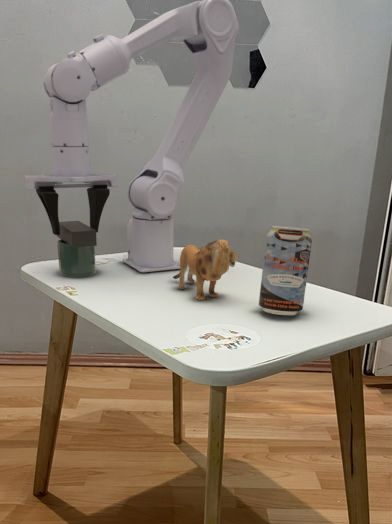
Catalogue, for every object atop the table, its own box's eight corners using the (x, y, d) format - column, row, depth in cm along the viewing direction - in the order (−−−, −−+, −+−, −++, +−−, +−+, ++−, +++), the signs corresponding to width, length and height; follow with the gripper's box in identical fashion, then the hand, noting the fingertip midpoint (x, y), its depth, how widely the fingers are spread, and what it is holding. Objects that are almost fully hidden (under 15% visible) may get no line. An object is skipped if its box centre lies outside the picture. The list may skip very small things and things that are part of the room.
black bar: (56, 236, 98) (55, 221, 97) (79, 235, 100) (78, 220, 99) (72, 247, 90) (71, 231, 89) (96, 245, 91) (96, 230, 90)
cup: (56, 270, 98) (53, 238, 96) (89, 267, 100) (88, 236, 98) (65, 278, 93) (62, 245, 91) (100, 275, 95) (98, 243, 93)
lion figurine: (241, 301, 83) (244, 240, 80) (212, 307, 80) (214, 244, 77) (186, 279, 94) (186, 224, 91) (158, 283, 91) (158, 227, 88)
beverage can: (254, 318, 76) (260, 228, 72) (263, 303, 83) (269, 220, 78) (301, 323, 74) (310, 232, 70) (306, 307, 81) (315, 223, 77)
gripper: (28, 147, 83) (36, 240, 88) (122, 147, 89) (125, 234, 94) (19, 145, 88) (27, 232, 94) (108, 145, 95) (111, 227, 100)
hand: (75, 232), depth 94 cm, fingers open, 6 cm apart
